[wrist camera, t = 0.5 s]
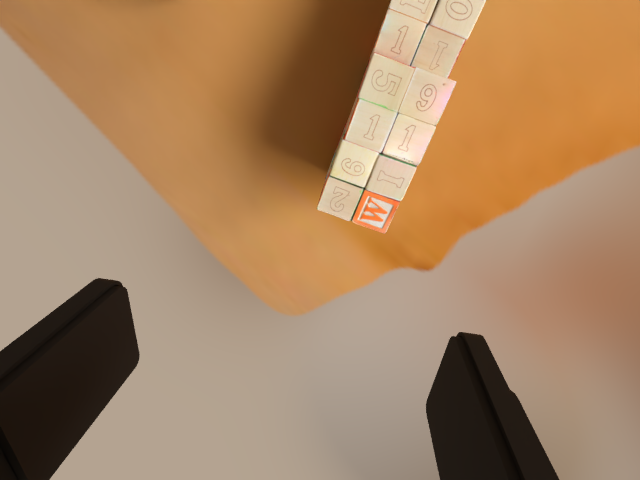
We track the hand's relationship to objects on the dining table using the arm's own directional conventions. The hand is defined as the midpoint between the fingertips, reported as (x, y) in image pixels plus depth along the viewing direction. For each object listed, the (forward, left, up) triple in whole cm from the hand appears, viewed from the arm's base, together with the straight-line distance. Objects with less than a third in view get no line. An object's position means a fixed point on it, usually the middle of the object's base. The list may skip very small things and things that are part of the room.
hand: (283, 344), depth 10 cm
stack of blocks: (-7, +3, -31) cm, 32 cm away
